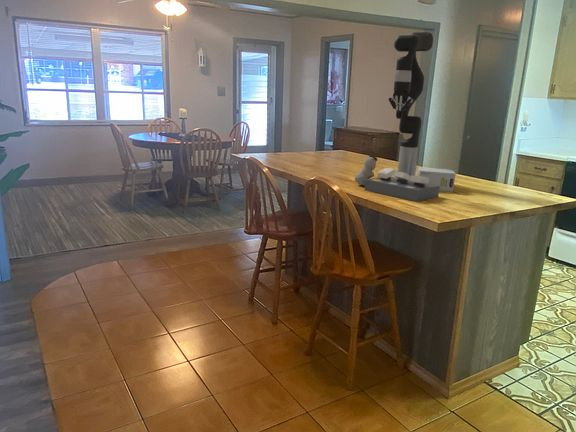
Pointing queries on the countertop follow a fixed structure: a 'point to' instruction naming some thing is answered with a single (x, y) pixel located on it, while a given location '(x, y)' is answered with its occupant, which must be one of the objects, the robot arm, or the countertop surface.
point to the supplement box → (439, 177)
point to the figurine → (366, 170)
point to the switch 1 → (386, 173)
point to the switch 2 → (402, 175)
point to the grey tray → (402, 188)
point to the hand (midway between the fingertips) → (399, 118)
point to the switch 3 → (419, 179)
